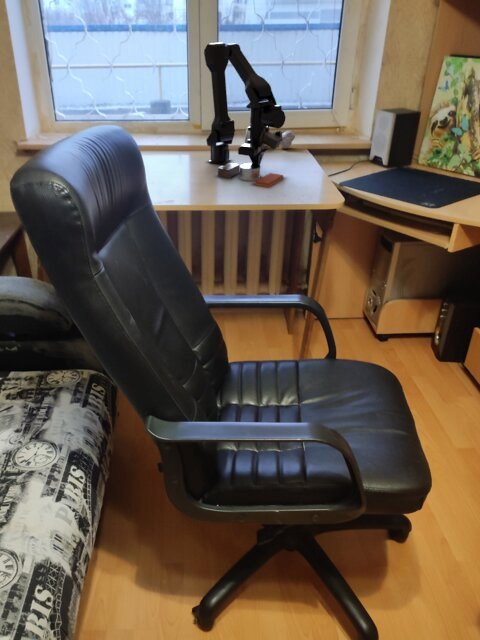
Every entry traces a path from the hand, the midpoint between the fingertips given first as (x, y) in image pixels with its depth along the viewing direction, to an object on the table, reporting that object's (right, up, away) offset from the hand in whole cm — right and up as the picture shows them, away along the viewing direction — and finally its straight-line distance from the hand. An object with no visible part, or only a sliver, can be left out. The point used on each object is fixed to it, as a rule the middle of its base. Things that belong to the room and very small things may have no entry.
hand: (256, 169), depth 199 cm
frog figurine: (+15, +19, +29) cm, 38 cm away
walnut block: (-10, -1, +1) cm, 10 cm away
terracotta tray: (+3, -6, -7) cm, 10 cm away
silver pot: (-3, -4, -3) cm, 5 cm away
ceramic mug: (+3, +21, +31) cm, 38 cm away
